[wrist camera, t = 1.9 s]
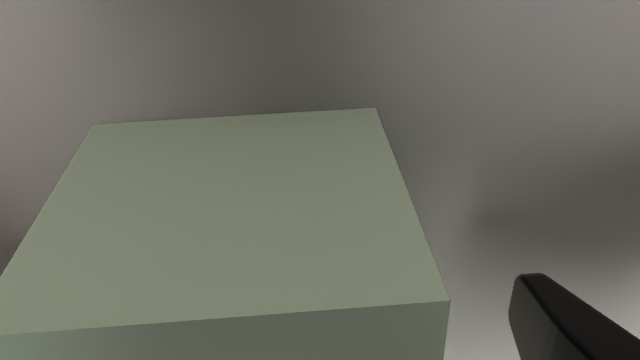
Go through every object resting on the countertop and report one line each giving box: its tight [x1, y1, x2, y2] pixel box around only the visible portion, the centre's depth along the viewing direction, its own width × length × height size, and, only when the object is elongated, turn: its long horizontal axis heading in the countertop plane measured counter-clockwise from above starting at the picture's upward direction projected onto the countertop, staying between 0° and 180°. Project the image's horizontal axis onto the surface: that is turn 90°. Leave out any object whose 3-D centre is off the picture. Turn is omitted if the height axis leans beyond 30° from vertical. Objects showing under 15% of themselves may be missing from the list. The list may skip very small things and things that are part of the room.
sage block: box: [0, 108, 450, 360], centre depth 9 cm, size 5×5×5 cm
